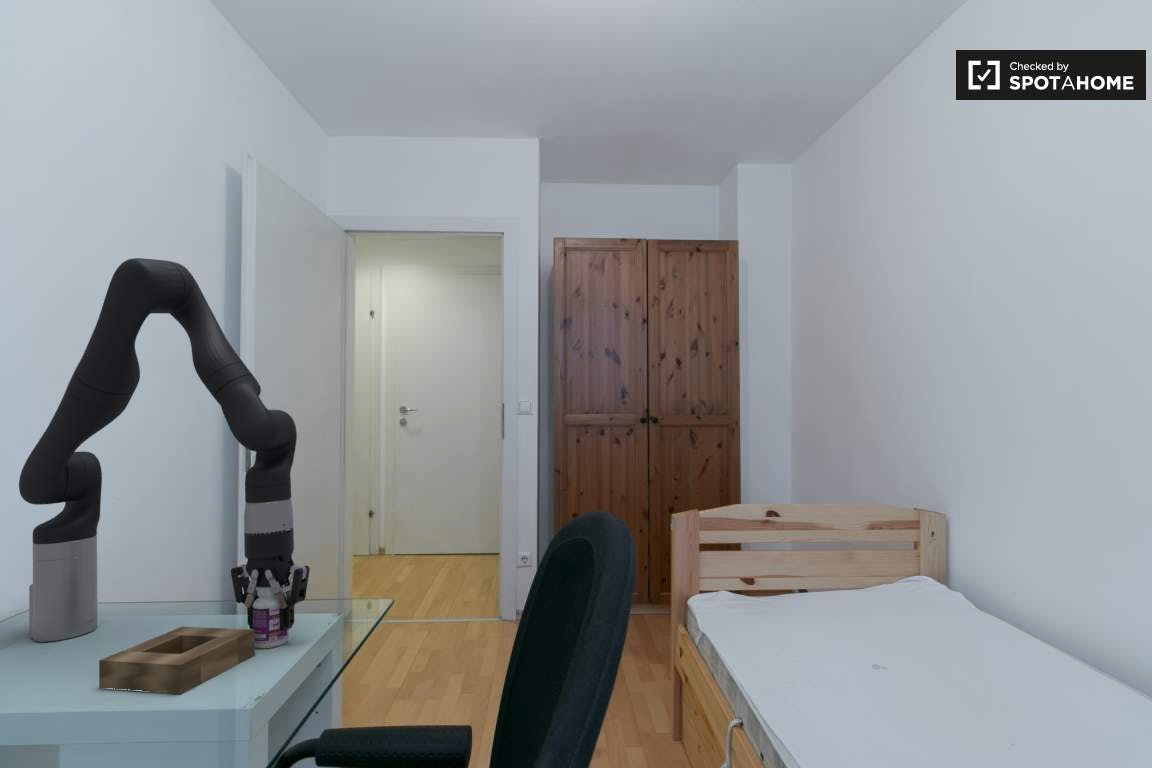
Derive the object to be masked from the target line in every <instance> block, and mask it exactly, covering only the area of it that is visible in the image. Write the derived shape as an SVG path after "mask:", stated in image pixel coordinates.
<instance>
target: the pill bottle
mask: <svg viewBox="0 0 1152 768" xmlns="http://www.w3.org/2000/svg"><path fill="white" fill-rule="evenodd" d="M281 588H284V585H283V586H281ZM257 595H258V596H259V598H258V599H256V600H255V601H254V603H253V629H252V630H254V641H255V648H257V649H271V648H274V647H275V648H276V647H278V646H281V645H283V644H286V643H287V642H288V640H289V637H290V636H289V635H290V634H289V631H290V629H288V630H286V631H281V630H280V609H281V606H280V603H279V600H278V598H277V597H276V596H275V595H274V594H273V591H272V588H271V587H257ZM286 598H287V597H286ZM286 641H287V642H286Z"/></svg>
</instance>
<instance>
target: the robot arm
mask: <svg viewBox="0 0 1152 768" xmlns="http://www.w3.org/2000/svg"><path fill="white" fill-rule="evenodd" d="M151 314H170V316H171V317H173V319H175V320H176V322H178V324H179V325H180V326H181V327H182V328H183V330H184V331H185V332H186V335H187V336H188V338H189V341H190V342H189V343H190V347H191V356H192V357H191V358H192V363H193V367H194V370H195V372H196V375H197V376H198V378H199V380H201V381H200V382H202V384H203V385H204V386H205V388H206V389H207V390H208V392H209V393H210V395H212V397H213V398H214V400H215V401H216V402H217V403H218V404H219V405H220V408H221V411H222V414H223V416H224V419H225V421H226V423H227V425H228V427H229V430H230V432H231V433H232V435H233V437H234V438H235V439H236V441H238V443H239V444H240V445H241V446H243V448H245V449H246V450H249V451H252V452H256V454H255V460H254V464H253V465H252V466H250V468H249V469H248V470H247V471H246V472H245V475H244V486H245V487H244V492H245V493H244V502H245V503H244V513H243V537H244V538H243V539H244V540H243V542H244V544H243V545H244V547H243V548H244V557H245V558H246V559H247V561H246V564H241V565H237V566H235V567H232V568H231V569H230V577H231V581H232V586H233V591H234V596H235V597H234V598H235V602H236V603H237V604H243V605H245V607H246V609H247V610H246V611H247V614H246V615H247V625H248V626H249V630H253V603H254V601H255V600H256V599H258V598H259V596H258V595H257V587H271V588H272V591H273V594H274V595H275V596H276V597H277V598H278V600H279V603H280V606H281V609H280V630H281V631H286V630H288V629H289V630H290V629H291V628H292V627H293V625H294V624H295V605H297V604H298V603H301V602H304V601H305V600H306V596H307V590H308V584H309V575H310V570H311V569H310V566H309V565H304V566H299V565H296V564H295V562H294V560H293V552H294V549H295V539H294V537H295V536H294V532H295V531H294V510H293V509H294V508H293V503H292V479H291V471H292V466H293V463H294V459H295V458H294V457H295V453H296V446H297V427H296V424H295V423H296V422H295V421H294V419H293V417H292V416H291V415H290V414H289V413H288V412H286V411H284V410H282V409H281V410H280V409H268V408H267V407H266V405H265V404H264V403H263V401H262V400H261V398H260V395H261V393H262V389H261V388H262V387H261V385H260V384H259V381H258V380H257V379H256V377H255V376H254V374H253V373H252V372H251V370H250V369H249V368H248V367H247V365H246V364H245V363H244V362H243V360H242V359H241V357H240V356H239V354H237V352H236V350H235V349H234V348H233V346H232V345H231V344H230V342H229V340H228V339H227V337H226V336H225V333H224V331H223V330H222V328H221V327H220V324H219V322H218V320H217V318H216V317H215V315H214V312H213V311H212V309H211V307H210V305H209V303H208V301H207V300H206V297H205V295H204V293H203V292H202V290H201V288H200V286H199V284H198V282H197V280H196V279H195V277H194V276H193V274H192V273H191V272H190V270H189V269H188V268H186V267H185V266H184V265H182V264H181V263H179V262H175V261H170V260H166V259H165V260H164V259H163V260H162V259H155V258H154V259H152V258H144V257H143V258H141V257H136V258H135V257H134V258H129V259H126V260H125V261H123V262H121V264H120V265H118V267H117V268H116V270H115V271H114V273H113V275H112V277H111V280H110V282H109V284H108V288H107V291H106V293H105V297H104V299H103V303H102V306H101V310H100V313H99V316H98V319H97V321H96V323H95V326H94V329H93V332H92V334H91V336H90V338H89V341H88V343H87V345H86V347H85V350H84V352H83V354H82V357H81V359H80V360H79V361H78V364H76V365H77V366H76V367H75V369H74V371H73V374H72V375H71V378H70V379H69V382H68V384H67V386H66V389H65V391H64V394H63V395H62V398H61V400H60V402H59V405H58V407H57V409H56V411H55V413H54V415H53V417H52V419H51V420H50V422H49V424H48V426H47V428H46V429H45V431H44V432H43V434H42V435H41V437H40V438H39V440H38V442H37V443H36V444H35V446H34V448H33V449H32V450H31V452H30V454H28V455H29V456H28V457H27V459H26V460H25V463H24V464H23V467H22V469H21V472H20V474H19V480H18V491H19V495H20V496H21V498H22V499H23V501H25V502H26V503H28V504H31V505H37V506H38V505H40V506H41V505H54V504H60V503H61V504H63V503H65V504H64V508H63V509H62V510H61V511H60V512H59V513H58V514H56V515H55V516H54V517H52V518H50V519H48V520H47V521H44V522H42V523H40V524H38V525H36V526H35V527H34V528H33V529H32V530H33V531H32V583H31V584H30V585H29V587H28V588H29V589H28V595H29V596H28V599H29V600H28V603H29V604H28V607H29V608H28V610H29V611H28V614H29V615H28V618H29V619H28V620H29V625H28V627H29V628H28V630H29V632H28V633H29V634H28V635H29V636H28V637H29V638H30V639H32V640H33V641H34V642H39V643H40V642H41V643H43V642H56V641H61V640H67V639H71V638H75V637H79V636H81V635H82V636H83V635H85V634H88V633H91V632H93V631H95V630H96V629H97V628H98V525H99V522H100V518H101V501H102V485H103V472H102V471H103V470H102V466H101V462H100V460H99V458H98V457H97V455H95V454H94V453H93V452H90V451H84V450H83V451H77V449H78V448H79V447H81V445H82V444H83V443H84V442H86V441H87V440H89V439H90V438H91V437H92V436H94V435H95V434H97V433H98V432H99V431H101V430H103V429H104V428H105V427H107V426H108V425H109V424H111V423H112V422H113V421H115V420H116V419H117V418H118V417H120V416H121V415H122V413H123V412H124V411H125V410H126V409H127V406H128V405H129V403H130V402H131V399H132V398H133V395H134V394H135V392H136V389H137V387H138V385H139V382H140V378H141V368H140V364H139V363H140V362H139V358H138V355H137V352H136V351H137V350H136V341H137V337H138V334H139V333H140V330H141V327H142V326H143V325H144V322H145V321H146V319H147V318H148V317H149V315H151ZM281 586H284V588H281ZM286 597H287V598H286Z"/></svg>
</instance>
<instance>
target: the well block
mask: <svg viewBox="0 0 1152 768" xmlns="http://www.w3.org/2000/svg"><path fill="white" fill-rule="evenodd" d="M255 648H256V647H255V641H254V630H253V629H247V628H246V629H243V628H223V627H222V628H221V627H200V626H198V627H196V626H195V627H193V626H180V627H178V628H176V629H173V630H171V631H168V632H166V633H164V634H161V635H158V636H156V637H153V638H151V639H149V640H146V641H144V642H141V643H139V644H135V645H133V646H131V647H129V648H126V649H124V650H121V651H119V652H117V653H114V654H111V655H109V656H106V657H104V658H101V659H100V660H98V670H99V671H98V673H99V675H98V678H99V679H98V682H99V684H98V685H99V687H98V688H113V689H114V688H115V689H127V690H128V689H130V690H142V691H150V692H159V693H158V694H164V693H167V694H166V695H182V694H184V693H186V692H188V691H191V690H192V689H194V688H196V687H197V686H200V685H202V684H203V683H205V682H207V681H209V680H211V679H213V678H215V677H217V676H218V675H220V674H222V673H224V672H225V671H226V672H227V671H228V670H230V669H232V668H234V667H235V666H237V665H239V664H241V663H243V662H245V661H247V660H249V659H250V658H253V657H254V656H255V654H256V653H255V652H256V651H255V650H256V649H255ZM150 692H149V693H150Z"/></svg>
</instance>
